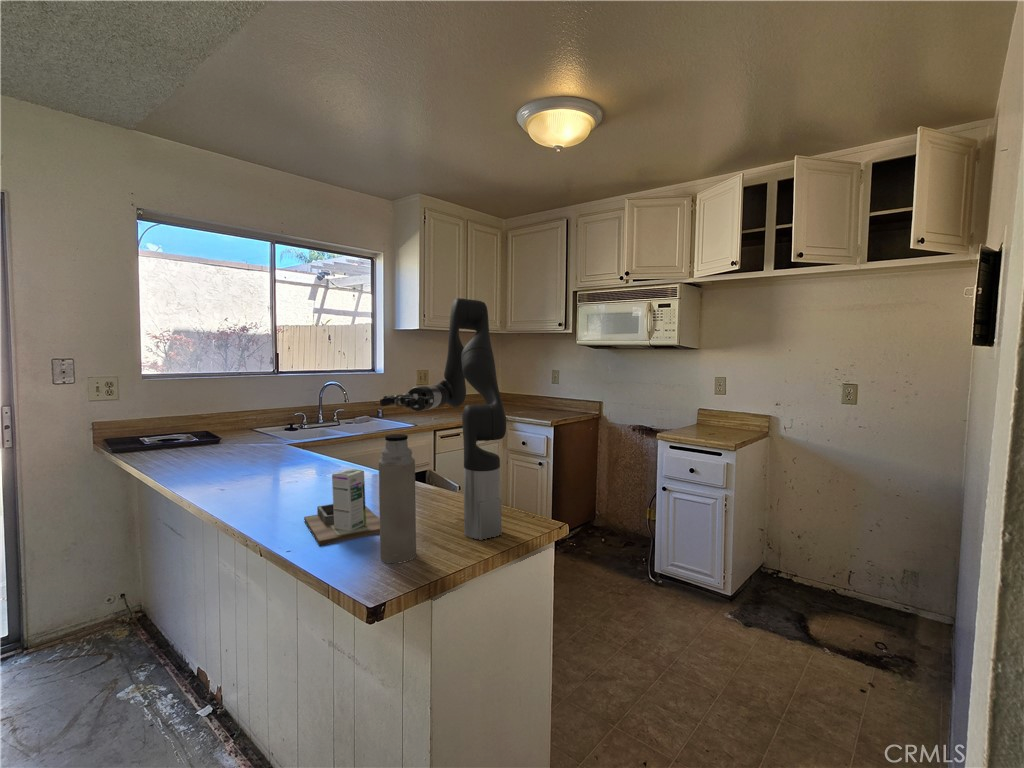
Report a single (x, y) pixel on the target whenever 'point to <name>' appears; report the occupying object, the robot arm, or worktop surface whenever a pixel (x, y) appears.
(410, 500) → the thermos bottle
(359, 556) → the worktop surface
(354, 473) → the syrup box
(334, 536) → the board
